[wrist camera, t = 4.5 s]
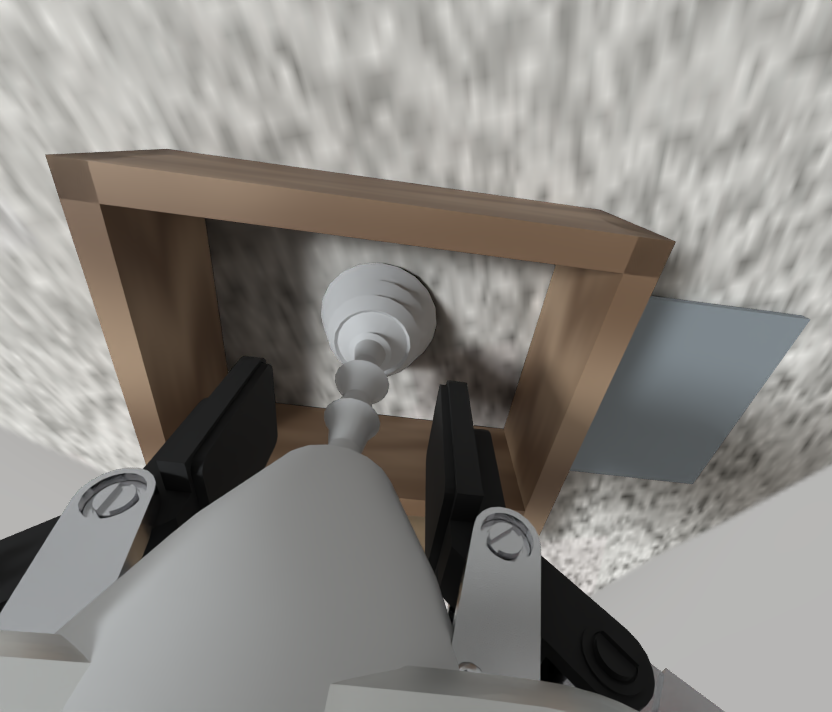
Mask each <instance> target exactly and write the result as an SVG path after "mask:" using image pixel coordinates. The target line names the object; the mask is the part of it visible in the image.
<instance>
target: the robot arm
mask: <svg viewBox="0 0 832 712" xmlns="http://www.w3.org/2000/svg"><path fill="white" fill-rule="evenodd" d="M277 437H278V431H277V418H276V406H275V394H274V382H273V370H272V366H271V364H266V360H265V359H264V358H257V357H249V356H243V357H242V358H241V359H240V360H239V361H238V362H237V363H236V365H235V366H234V367H233V368H232V369H231V371H230V372H229V373H228V374H227V375H226V377H225V378H224V379H223V380H222V381H221V383H220V384H219V385H218V386H217V388H216V389H215V390H214V391H213V392H212V394H211V395H210V396H209V397H208V398H204V399H202V400H201V401H200V402H199V403H198V404H197V406H196V407H195V408H194V409H193V410H192V411H191V413H190V414H189V415H188V416H187V417H186V419H185V420H184V421H183V422H182V423H181V424H180V426H179V427H178V428H177V429H176V430H175V432H174V433H173V434H172V435H171V436H170V437H169V439H168V440H167V441H166V442H165V443H164V445H163V446H162V447H161V448H160V449H159V450H158V452H157V453H156V454H155V455H154V456H153V458H152V459H151V460H150V461H149V462H148V463H147V465H146V466H145V467H144V468H143V469H141V468H123V469H117V470H113V471H110V472H108V473H105V474H102V475H100V476H98V477H96V478H95V479H93V480H91V481H89V482H88V483H87V484H85V485H84V486H83V487H82V488H80V489H79V490H78V491H77V493H76V494H75V495H74V496H73V497H72V499H71V500H70V502H69V504H68V505H67V507H66V509H65V510H64V512H63V513H62V515H60V516H58V517H56V518H53V519H51V520H48V521H46V522H44V523H41V524H39V525H36V526H34V527H31V528H29V529H26V530H24V531H22V532H19V533H17V534H14V535H12V536H9V537H7V538H5V539H2V540H0V712H61V711H62V709H63V707H64V706H65V704H66V703H67V701H68V699H69V698H70V696H71V694H72V693H73V691H74V690H75V688H76V686H77V685H78V683H79V681H80V680H81V678H82V677H83V675H84V673H85V672H86V670H87V669H88V667H89V665H90V664H91V663H90V662H89V660H88V659H87V658H86V657H85V656H84V655H83V654H82V653H81V652H80V651H79V650H78V649H77V648H76V647H75V646H74V645H73V644H71V643H70V642H69V641H68V640H67V639H65V638H64V637H63V636H62V635H61V634H54V633H55V632H57V631H58V630H59V629H60V628H61V627H63V626H64V625H65V624H66V623H67V622H68V621H70V620H71V619H72V618H73V617H74V616H75V615H77V614H78V613H79V612H80V611H81V610H82V609H84V608H85V607H86V606H87V605H88V604H89V603H91V602H92V601H93V600H94V599H95V598H96V597H98V596H99V595H100V594H101V593H102V592H103V591H105V590H106V589H107V588H108V587H109V586H111V585H112V584H113V583H114V582H115V581H116V580H118V579H119V578H120V577H121V576H122V575H123V574H125V573H126V572H127V571H128V570H129V569H130V568H132V567H133V566H134V565H135V564H136V563H137V562H139V561H140V560H141V559H142V558H143V557H144V556H146V555H147V554H148V553H149V552H150V551H151V550H153V549H154V548H155V547H156V546H157V545H159V544H160V543H161V542H162V541H163V540H164V539H166V538H167V537H168V536H169V535H170V534H171V533H173V532H174V531H175V530H176V529H178V528H179V527H180V526H181V525H183V524H184V523H185V522H186V521H188V520H189V519H190V518H191V517H193V516H194V515H195V514H196V513H198V512H199V511H201V510H202V509H204V508H205V507H207V506H208V505H210V504H211V503H213V502H214V501H216V500H217V499H219V498H220V497H222V496H223V495H225V494H226V493H228V492H229V491H231V490H232V489H234V488H235V487H237V486H239V485H240V484H242V483H243V482H245V481H246V480H248V479H249V478H251V477H252V476H254V475H255V474H257V473H258V472H260V471H261V470H263V469H264V468H265V466H266V464H267V462H268V460H269V458H270V456H271V454H272V452H273V450H274V448H275V446H276V442H277ZM425 555H426V557H427V559H428V561H429V563H430V565H431V567H432V569H433V571H434V574H435V576H436V578H437V581H438V584H439V587H440V590H441V593H442V597H443V598H444V599H445V600H446V601H447V603H448V608H447V612H448V615H449V618H450V621H451V624H452V627H453V629H452V648H453V651H454V654H455V657H456V660H457V663H458V666H459V670H460V671H458V670H449V669H438V668H428V667H417V666H407V665H406V666H404V667H401V668H399V669H396V670H390V671H385V672H380V673H374V674H370V675H365V676H361V677H356V678H352V679H347V680H343V681H339V682H335V683H331V684H330V687H329V692H328V696H327V701H326V706H325V711H324V712H724V711H723V710H722V709H720V708H719V707H718V706H716V705H715V704H714V703H712V702H711V701H710V700H708V699H707V698H706V697H704V696H703V695H701V694H700V693H699V692H697V691H696V690H695V689H693V688H692V687H691V686H689V685H688V684H687V683H685V682H684V681H683V680H681V679H680V678H678V677H677V676H676V675H675V674H673V673H672V672H670V671H669V670H668V669H664V670H663V671H662V672H661V671H660V670H659V669H657V668H656V667H655V666H653V665H652V664H651V663H650V661H649V659H648V656H647V654H646V653H645V651H644V650H643V648H642V647H641V645H640V643H639V642H638V641H637V640H636V639H635V638H634V636H633V635H631V633H630V632H629V631H628V630H627V629H626V628H625V627H623V626H622V625H621V624H620V623H619V622H618V621H616V620H615V619H614V618H613V617H612V616H611V615H609V614H608V613H607V612H606V611H605V610H604V609H603V608H601V607H600V606H599V605H598V604H597V603H596V602H594V601H593V600H592V599H591V598H590V597H589V596H588V595H586V594H585V593H584V592H583V591H582V590H581V589H579V588H578V587H577V586H576V585H575V584H574V583H572V582H571V581H570V580H569V579H568V578H567V577H566V576H564V575H563V574H562V573H561V572H560V571H559V570H557V569H556V568H555V567H554V566H553V565H552V564H550V563H549V562H548V561H547V560H546V559H545V558H543V557H542V556H541V544H540V538H539V536H538V534H537V531H536V529H535V528H534V526H533V525H532V524H531V523H530V522H529V521H528V519H526V518H525V517H524V516H522V515H521V514H520V513H518V512H516V511H513V510H511V509H508V508H506V506H505V501H504V496H503V491H502V486H501V481H500V476H499V471H498V466H497V462H496V457H495V452H494V447H493V442H492V437H491V433H490V431H489V430H483V429H475V428H474V427H473V421H472V414H471V407H470V401H469V394H468V387H467V383H465V382H456V381H447V384H446V385H440V386H439V391H438V396H437V401H436V406H435V411H434V417H433V422H432V427H431V432H430V437H429V443H428V448H427V454H426V488H425Z"/></svg>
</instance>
